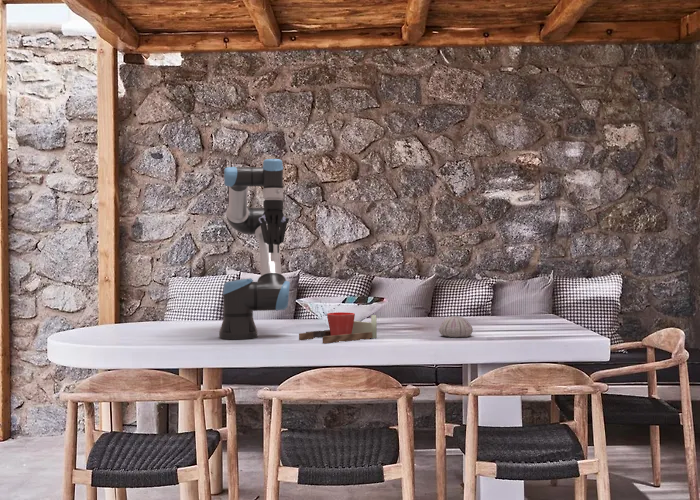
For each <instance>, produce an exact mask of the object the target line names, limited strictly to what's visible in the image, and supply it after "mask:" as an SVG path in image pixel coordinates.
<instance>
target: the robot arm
mask: <svg viewBox="0 0 700 500" xmlns="http://www.w3.org/2000/svg"><path fill="white" fill-rule="evenodd" d="M223 171H224V174H223V175H224V176H223V178H224V184H223V185H224V186H225V187H228V206H227V208H226V212H225V213H226V214H225V215H226V217H225V218H226V220H227V222H228V224H229V225H230V227H231V228H233V230H235V231H236V232H238V233H241V234H243V235H244V234H245V235H255V238H256V239H257V240H258V247H259V248H258V249H259V265H260V266H259V267H260V276H259V277H258V279H257V281H254V280H253V278H250V277H249V278H243V279H242V278H241V279H235V280H229V281H225V282H224V284H223V289H222V290H223V292H222V296H223V319H222V323H221V327H220V329H219V333H218V334H219V335H218V336H219V337H218V338H219V339H222V340H249V339H250V340H251V339H256V338H258V330H257V327H256V322H255V320H254V313H253V312H260V311H261V312H264V311H266V312H267V311H276V312H277V311H285V310H287V308H288V307H289V296H290V287H291V286H290V285H291V282H290V281H289V280H288V281H287V278H286V277H285V275H284V274H283V273H282V263H281V262H282V261H281V249H280V245H281V244H282V243H284V240H285V235H286V230H287V225H288V223H289V222H290V218H288V217H285V215H284V212H283V210H284V200H283V199H284V185H283V184H284V164H283V161H282V159H279V158H266V159H264V160H263V161H262V166H256V167H255V166H251V167H250V166H228V167H225V168H224V170H223ZM249 187H263V191H262V192H263V193H262V195H263V199H264V200H263V202H262V203H263V207H248V197H249V195H248V194H249V193H248V192H249Z"/></svg>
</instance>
